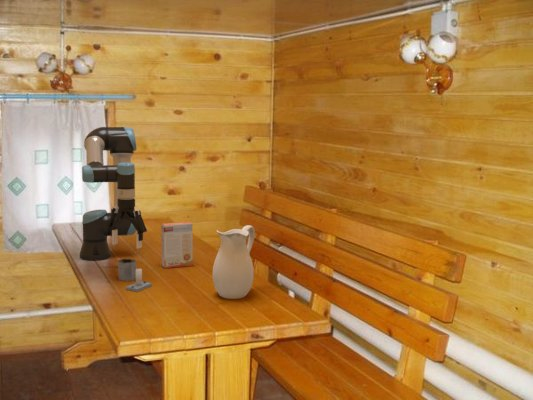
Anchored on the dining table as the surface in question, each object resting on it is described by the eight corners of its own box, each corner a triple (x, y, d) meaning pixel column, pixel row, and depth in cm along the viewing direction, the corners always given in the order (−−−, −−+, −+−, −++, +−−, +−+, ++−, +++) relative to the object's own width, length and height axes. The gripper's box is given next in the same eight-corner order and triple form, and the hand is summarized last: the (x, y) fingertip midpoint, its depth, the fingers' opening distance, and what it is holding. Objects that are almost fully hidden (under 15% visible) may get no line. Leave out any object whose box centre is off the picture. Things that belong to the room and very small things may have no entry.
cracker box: (189, 263, 311) (189, 221, 308) (192, 266, 306) (193, 223, 302) (161, 265, 306) (160, 222, 302) (164, 268, 300) (163, 225, 297)
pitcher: (238, 304, 252) (239, 235, 247) (203, 296, 261) (204, 229, 256) (269, 289, 272) (271, 225, 267) (237, 282, 281) (238, 220, 276)
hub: (115, 279, 282) (114, 261, 280) (126, 275, 288) (126, 258, 287) (128, 281, 278) (128, 264, 277) (139, 277, 285) (139, 260, 283)
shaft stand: (125, 289, 267) (125, 271, 266) (140, 283, 276) (140, 265, 275) (136, 291, 264) (136, 273, 263) (152, 285, 273) (151, 267, 272)
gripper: (98, 196, 280) (99, 244, 283) (143, 201, 268) (144, 251, 271) (110, 194, 286) (110, 241, 289) (154, 199, 275) (155, 247, 278)
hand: (126, 246), depth 280 cm, fingers open, 13 cm apart
